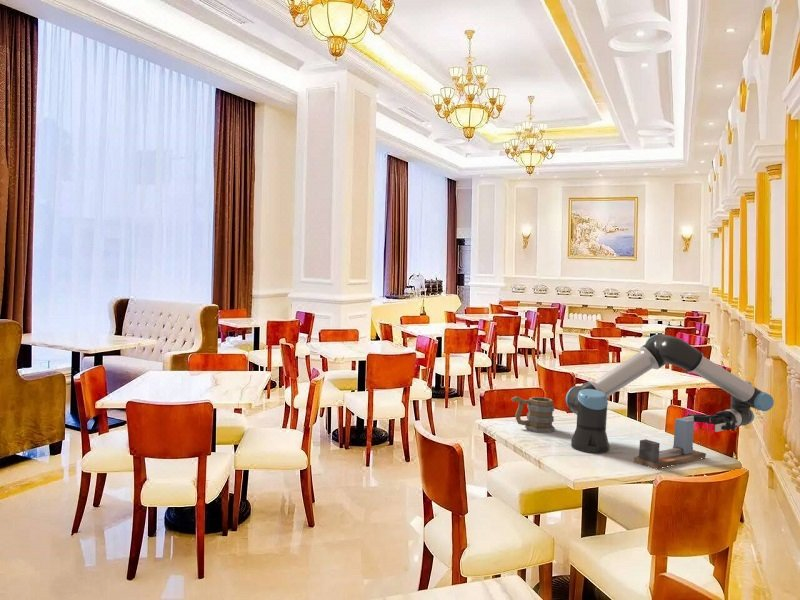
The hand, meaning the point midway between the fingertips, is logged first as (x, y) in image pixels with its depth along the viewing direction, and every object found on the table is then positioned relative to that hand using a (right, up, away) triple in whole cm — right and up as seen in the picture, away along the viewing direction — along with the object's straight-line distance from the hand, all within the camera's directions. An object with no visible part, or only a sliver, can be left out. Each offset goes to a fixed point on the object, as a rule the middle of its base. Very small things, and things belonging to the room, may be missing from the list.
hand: (699, 424), depth 251 cm
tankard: (-62, -9, +32) cm, 70 cm away
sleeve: (-9, -10, -5) cm, 14 cm away
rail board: (-16, -12, -10) cm, 22 cm away
